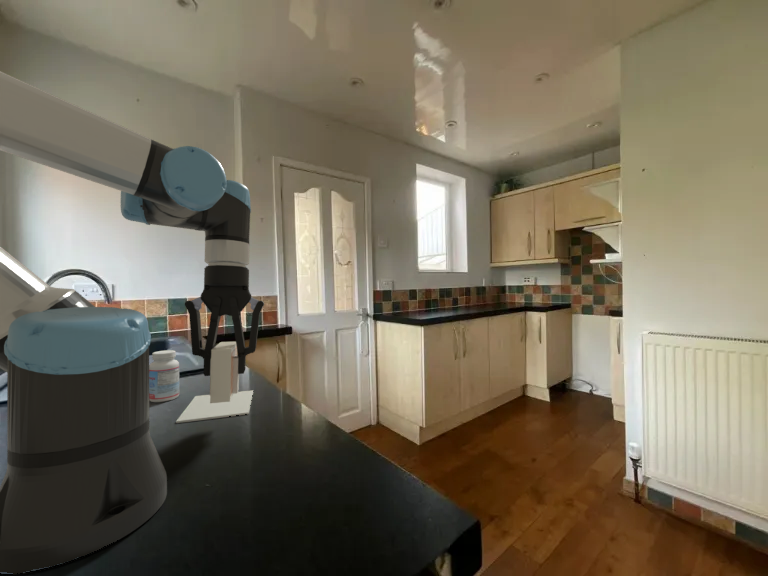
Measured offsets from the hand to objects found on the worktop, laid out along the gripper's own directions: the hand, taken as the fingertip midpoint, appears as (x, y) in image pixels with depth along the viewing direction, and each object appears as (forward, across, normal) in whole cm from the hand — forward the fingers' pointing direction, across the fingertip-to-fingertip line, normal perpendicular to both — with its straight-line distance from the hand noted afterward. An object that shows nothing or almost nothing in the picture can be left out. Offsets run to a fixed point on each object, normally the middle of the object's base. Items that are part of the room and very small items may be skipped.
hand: (224, 392), depth 60 cm
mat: (+7, +3, -14) cm, 16 cm away
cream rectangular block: (0, 0, 0) cm, 0 cm away
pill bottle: (+7, +16, -24) cm, 30 cm away
